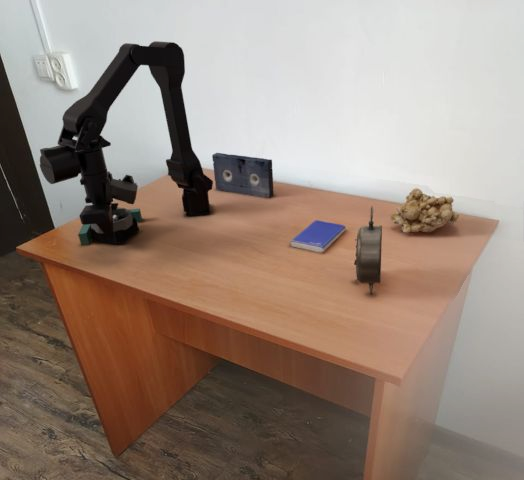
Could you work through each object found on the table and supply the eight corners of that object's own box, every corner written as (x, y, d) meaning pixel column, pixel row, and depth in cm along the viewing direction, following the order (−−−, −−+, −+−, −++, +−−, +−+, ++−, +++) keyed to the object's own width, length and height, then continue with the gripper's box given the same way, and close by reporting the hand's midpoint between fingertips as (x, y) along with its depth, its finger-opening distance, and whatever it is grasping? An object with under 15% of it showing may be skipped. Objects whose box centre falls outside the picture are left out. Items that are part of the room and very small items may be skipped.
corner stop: (142, 219, 133) (139, 208, 132) (136, 240, 123) (133, 229, 121) (91, 223, 133) (88, 212, 131) (81, 245, 123) (77, 234, 121)
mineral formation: (408, 211, 127) (468, 219, 119) (385, 239, 120) (447, 250, 112) (408, 181, 121) (471, 188, 113) (383, 209, 115) (448, 218, 107)
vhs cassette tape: (274, 195, 141) (272, 159, 135) (268, 198, 139) (266, 162, 133) (221, 186, 149) (217, 152, 143) (215, 189, 147) (211, 155, 141)
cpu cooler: (114, 225, 117) (80, 220, 120) (120, 247, 121) (86, 242, 124) (139, 208, 124) (106, 204, 128) (144, 229, 128) (111, 225, 131)
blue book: (322, 246, 111) (345, 225, 119) (290, 240, 115) (314, 219, 123) (322, 253, 112) (345, 231, 120) (290, 246, 116) (314, 225, 124)
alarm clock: (379, 298, 96) (387, 219, 86) (350, 297, 97) (355, 218, 87) (380, 270, 104) (387, 195, 94) (354, 269, 106) (358, 194, 95)
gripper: (125, 182, 102) (140, 251, 112) (135, 156, 117) (148, 219, 127) (70, 186, 102) (90, 256, 111) (88, 160, 117) (104, 223, 126)
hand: (110, 237), depth 119 cm, fingers closed
